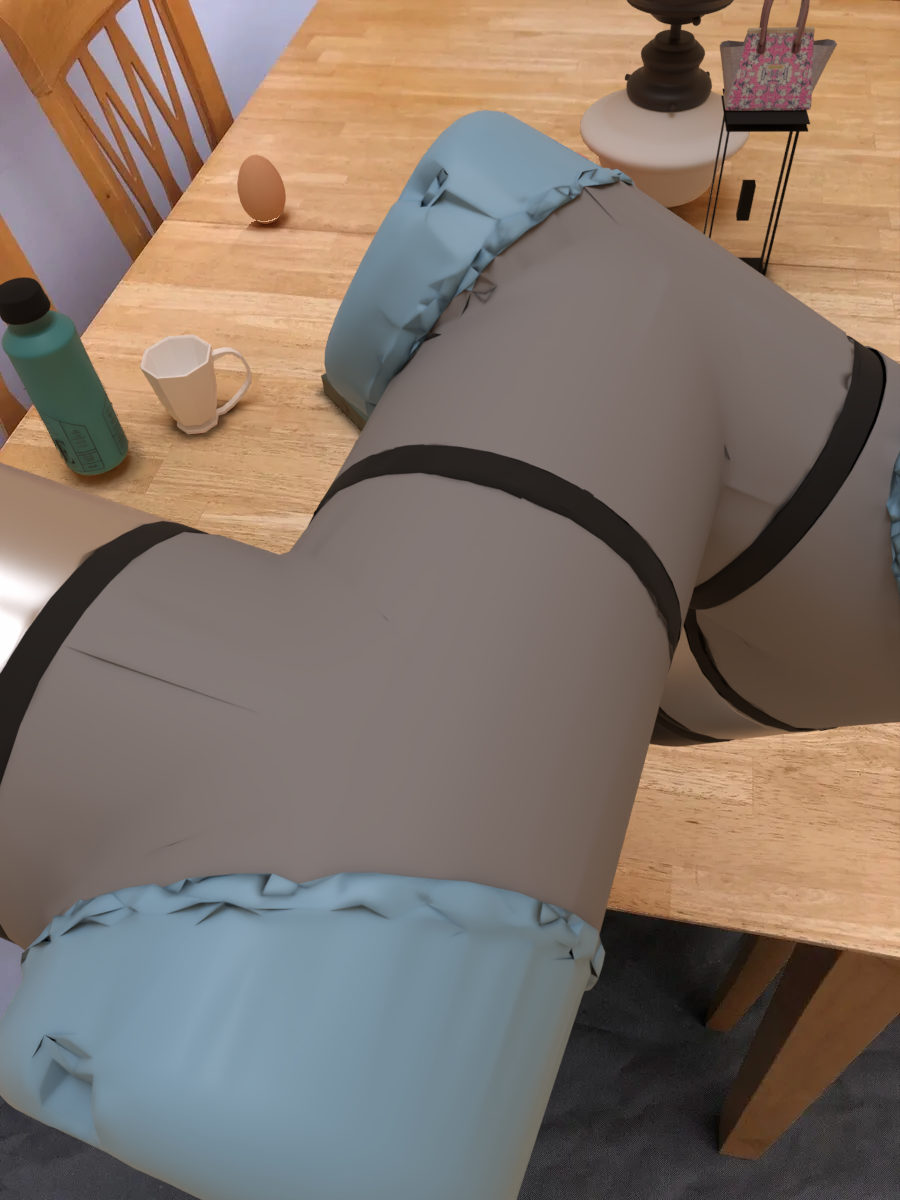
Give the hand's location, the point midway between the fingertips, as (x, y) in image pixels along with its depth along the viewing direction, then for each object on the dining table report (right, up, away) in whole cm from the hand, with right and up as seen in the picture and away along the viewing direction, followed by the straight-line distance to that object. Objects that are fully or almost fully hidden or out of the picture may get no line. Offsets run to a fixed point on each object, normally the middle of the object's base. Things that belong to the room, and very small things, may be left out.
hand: (504, 701), depth 55 cm
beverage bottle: (-38, +19, +36) cm, 56 cm away
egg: (-26, +54, +63) cm, 87 cm away
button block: (-9, +26, +39) cm, 48 cm away
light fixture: (+22, +56, +60) cm, 85 cm away
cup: (-28, +25, +40) cm, 55 cm away
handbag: (+28, +42, +49) cm, 70 cm away
